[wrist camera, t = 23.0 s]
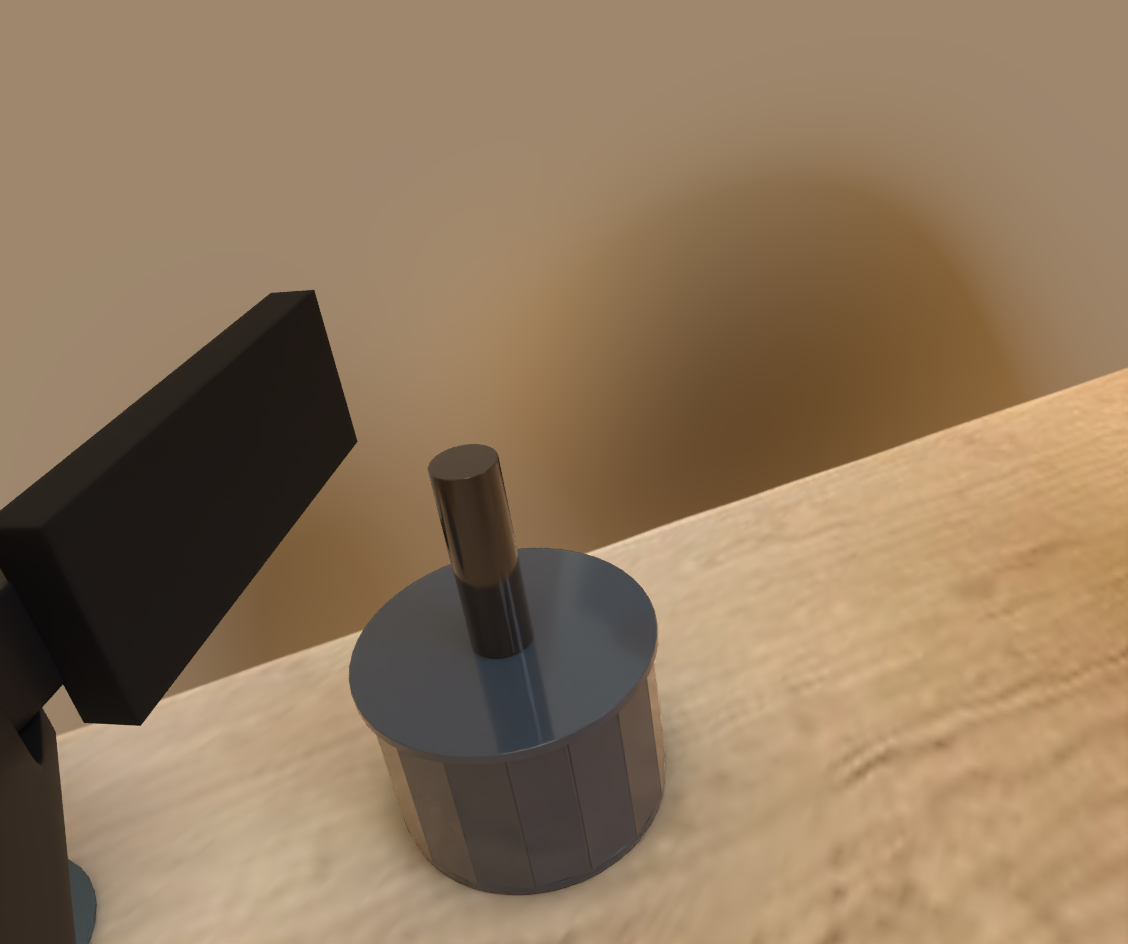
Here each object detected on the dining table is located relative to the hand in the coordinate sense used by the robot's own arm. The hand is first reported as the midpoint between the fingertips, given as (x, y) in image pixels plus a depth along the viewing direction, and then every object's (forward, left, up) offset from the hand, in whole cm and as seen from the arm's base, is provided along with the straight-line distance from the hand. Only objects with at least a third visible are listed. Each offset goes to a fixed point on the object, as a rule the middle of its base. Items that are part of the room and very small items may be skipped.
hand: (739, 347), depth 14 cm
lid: (+3, -21, -22) cm, 30 cm away
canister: (+3, -21, -30) cm, 37 cm away
